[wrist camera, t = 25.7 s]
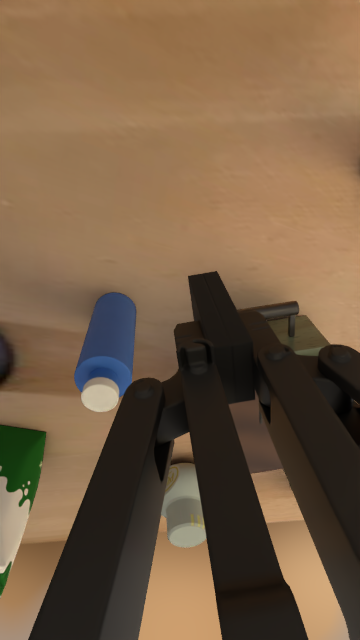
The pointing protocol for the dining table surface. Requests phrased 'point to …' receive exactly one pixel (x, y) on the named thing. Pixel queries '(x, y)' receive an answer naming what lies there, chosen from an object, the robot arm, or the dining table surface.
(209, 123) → the dining table surface
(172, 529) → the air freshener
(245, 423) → the cabinet
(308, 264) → the dining table surface
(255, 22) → the dining table surface
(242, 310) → the drawer
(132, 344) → the blue bottle
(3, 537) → the milk carton
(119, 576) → the robot arm
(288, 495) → the dining table surface
